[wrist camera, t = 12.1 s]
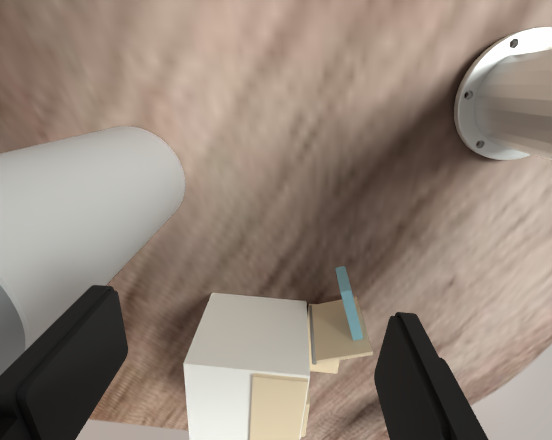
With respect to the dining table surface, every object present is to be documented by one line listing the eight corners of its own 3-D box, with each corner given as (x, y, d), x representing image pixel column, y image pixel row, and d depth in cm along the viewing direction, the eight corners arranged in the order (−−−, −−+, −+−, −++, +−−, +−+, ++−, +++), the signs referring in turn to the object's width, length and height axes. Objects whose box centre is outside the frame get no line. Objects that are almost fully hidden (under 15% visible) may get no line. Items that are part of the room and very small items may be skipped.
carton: (350, 305, 45) (369, 385, 33) (336, 372, 50) (348, 462, 38) (212, 292, 45) (181, 367, 33) (213, 360, 51) (188, 445, 39)
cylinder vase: (131, 101, 35) (-179, 134, 12) (207, 184, 38) (78, 330, 16) (69, 168, 39) (-257, 290, 16) (144, 238, 42) (-36, 419, 19)
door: (295, 264, 41) (295, 313, 32) (346, 253, 40) (360, 300, 31) (309, 308, 44) (312, 364, 35) (357, 299, 43) (373, 355, 34)
